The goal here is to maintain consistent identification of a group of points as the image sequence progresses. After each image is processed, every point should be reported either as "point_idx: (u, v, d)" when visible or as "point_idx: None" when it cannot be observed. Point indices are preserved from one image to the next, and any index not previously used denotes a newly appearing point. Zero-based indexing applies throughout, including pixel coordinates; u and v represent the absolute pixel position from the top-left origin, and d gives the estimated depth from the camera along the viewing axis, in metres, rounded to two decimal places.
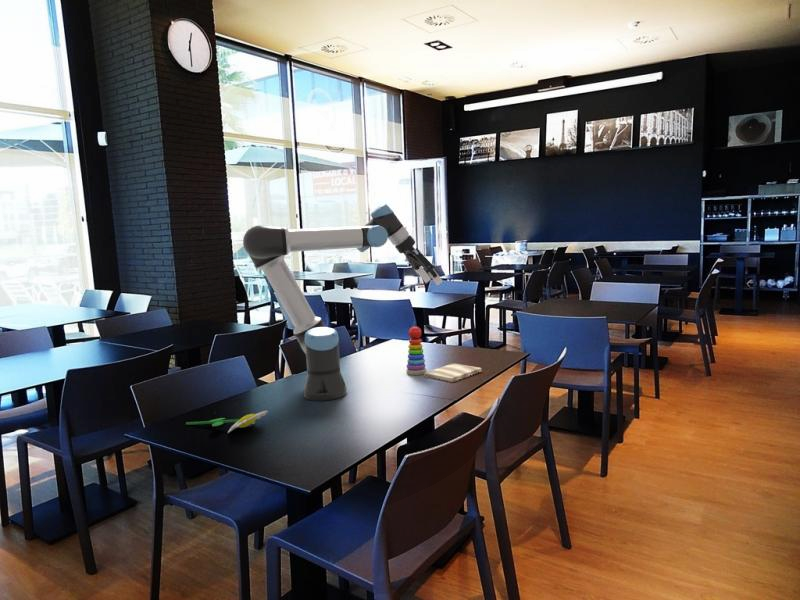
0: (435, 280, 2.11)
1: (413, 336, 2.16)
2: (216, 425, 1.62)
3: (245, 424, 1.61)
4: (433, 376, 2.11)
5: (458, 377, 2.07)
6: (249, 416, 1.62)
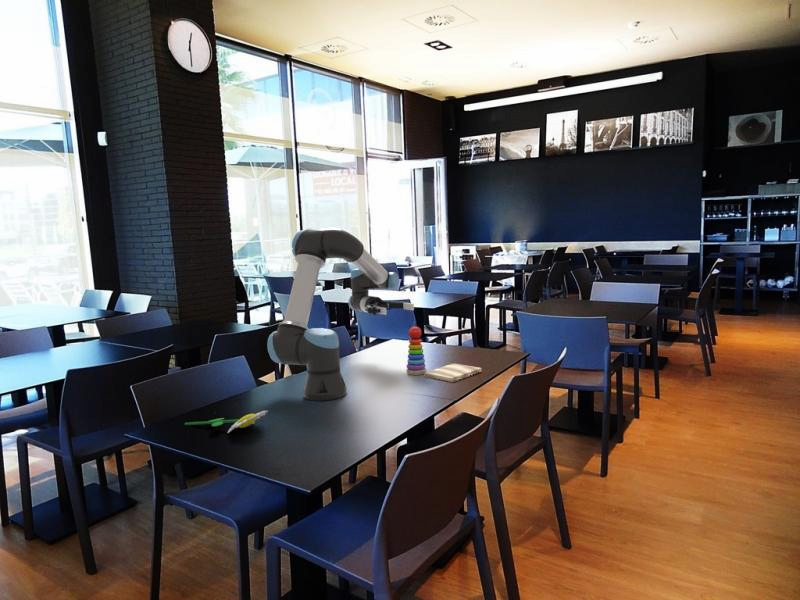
0: None
1: (413, 336, 2.16)
2: (216, 425, 1.62)
3: (245, 424, 1.61)
4: (433, 376, 2.11)
5: (458, 377, 2.07)
6: (249, 416, 1.62)
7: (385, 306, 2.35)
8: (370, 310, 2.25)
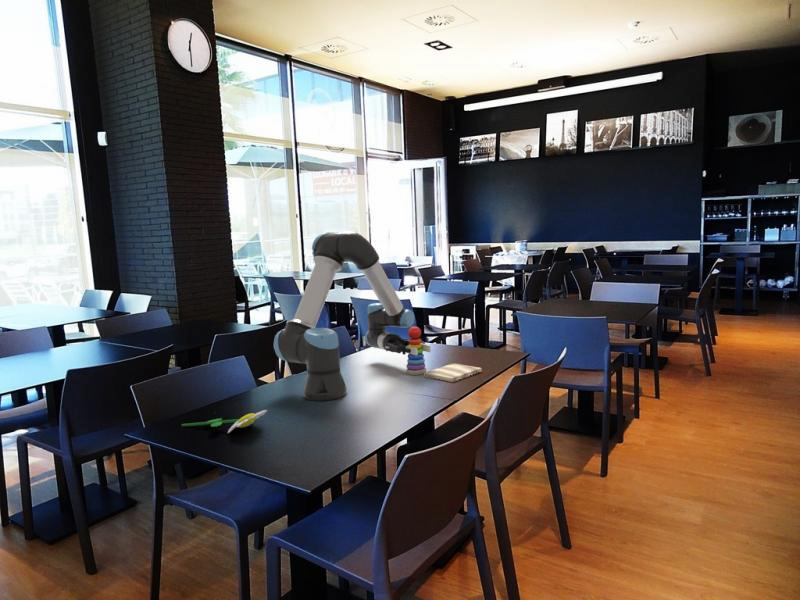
0: None
1: (413, 336, 2.16)
2: (216, 425, 1.62)
3: (246, 424, 1.62)
4: (433, 376, 2.11)
5: (458, 377, 2.07)
6: (249, 415, 1.62)
7: (404, 345, 2.27)
8: (400, 349, 2.17)
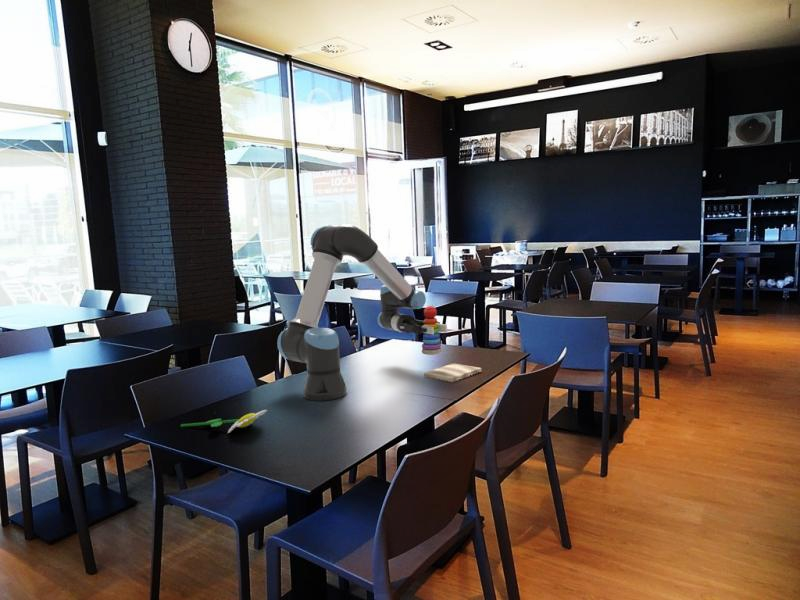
0: None
1: (428, 315, 2.14)
2: (216, 425, 1.62)
3: (246, 423, 1.62)
4: (433, 376, 2.11)
5: (458, 377, 2.07)
6: (250, 415, 1.62)
7: (419, 325, 2.25)
8: (416, 329, 2.15)
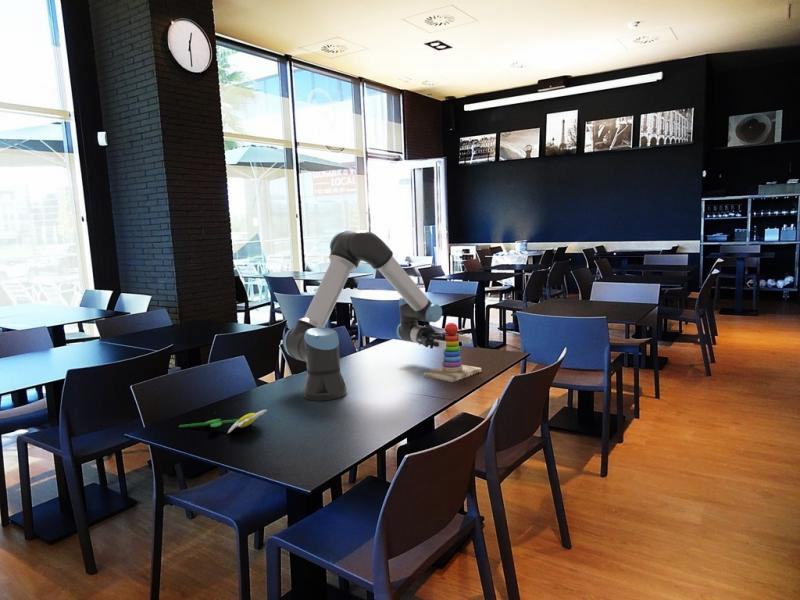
0: None
1: (449, 332, 2.12)
2: (216, 426, 1.62)
3: (246, 423, 1.62)
4: (433, 376, 2.11)
5: (458, 377, 2.07)
6: (250, 415, 1.62)
7: (439, 338, 2.22)
8: (427, 343, 2.12)
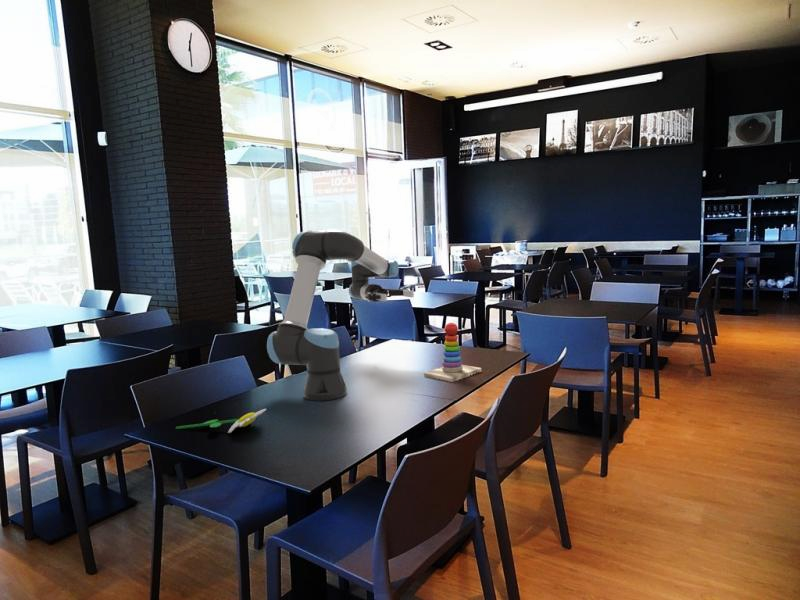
0: None
1: (449, 332, 2.12)
2: (216, 426, 1.62)
3: (247, 423, 1.62)
4: (433, 376, 2.11)
5: (458, 377, 2.07)
6: (250, 415, 1.63)
7: (385, 293, 2.38)
8: (370, 297, 2.28)
